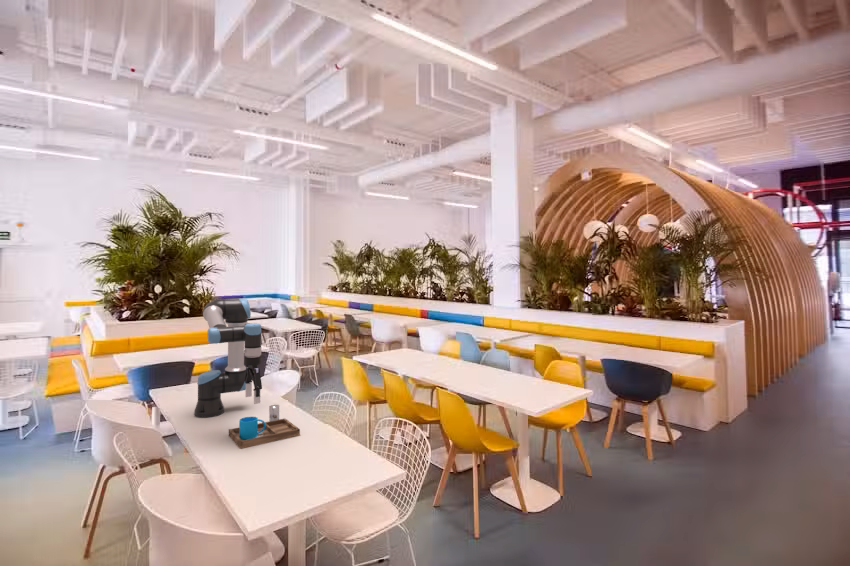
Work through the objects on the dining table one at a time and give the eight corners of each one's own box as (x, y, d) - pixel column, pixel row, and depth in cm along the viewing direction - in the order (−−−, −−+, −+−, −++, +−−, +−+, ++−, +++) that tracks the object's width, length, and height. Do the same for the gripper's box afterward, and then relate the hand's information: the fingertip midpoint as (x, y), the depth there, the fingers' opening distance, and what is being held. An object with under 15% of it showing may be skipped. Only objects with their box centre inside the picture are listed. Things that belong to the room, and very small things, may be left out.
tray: (228, 435, 215) (228, 429, 215) (285, 423, 232) (285, 418, 232) (240, 448, 199) (240, 442, 199) (299, 435, 216) (299, 429, 216)
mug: (240, 440, 205) (240, 423, 205) (238, 434, 212) (238, 418, 212) (267, 436, 211) (267, 419, 211) (264, 430, 218) (264, 414, 218)
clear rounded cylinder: (268, 422, 234) (268, 405, 233) (277, 420, 237) (277, 404, 237) (271, 425, 230) (271, 408, 230) (280, 423, 233) (280, 406, 233)
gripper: (237, 352, 219) (237, 395, 219) (252, 361, 199) (252, 407, 199) (253, 351, 223) (252, 392, 224) (269, 359, 203) (269, 404, 204)
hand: (252, 400), depth 212 cm, fingers open, 13 cm apart
